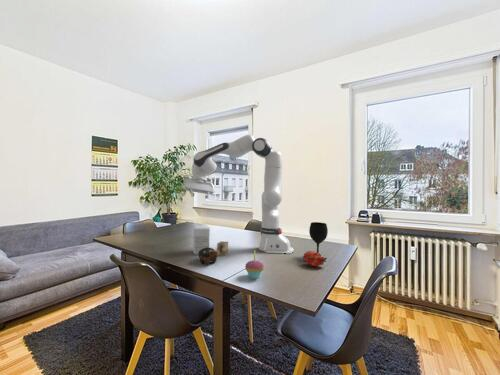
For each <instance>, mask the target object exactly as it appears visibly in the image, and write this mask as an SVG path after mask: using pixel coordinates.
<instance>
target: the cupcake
mask: <svg viewBox="0 0 500 375" xmlns="http://www.w3.org/2000/svg"><path fill="white" fill-rule="evenodd" d="M264 269H265V265H264V264H263V263H262V262H261V261H260V260H256V250H254V251H253V260H249V261H247V262H246V263H245V271H246V272H247V275H248V278H250V279H254V280H256V279H258V278H260V276H261V273H262V271H264Z"/></svg>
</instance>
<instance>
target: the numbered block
mask: <svg viewBox="0 0 500 375" xmlns="http://www.w3.org/2000/svg"><path fill="white" fill-rule="evenodd" d="M216 251H217V253H218V255H217V256H222V257H225V256H227V255H228V254H229V242H228V241H219V242H217V243H216Z"/></svg>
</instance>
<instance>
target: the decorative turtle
mask: <svg viewBox="0 0 500 375" xmlns="http://www.w3.org/2000/svg"><path fill="white" fill-rule="evenodd" d="M197 256H198V259H199V261H200V263H201V264H203V263H204V265H205V266H208V265H209V264H210V263H213V264H216V262H217V258H218V256H219V255H218V253H217V249H214V248H212V247H210V246H209V247H206V248H203V249H201V250H200V251H199V253H198V254H197Z"/></svg>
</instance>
